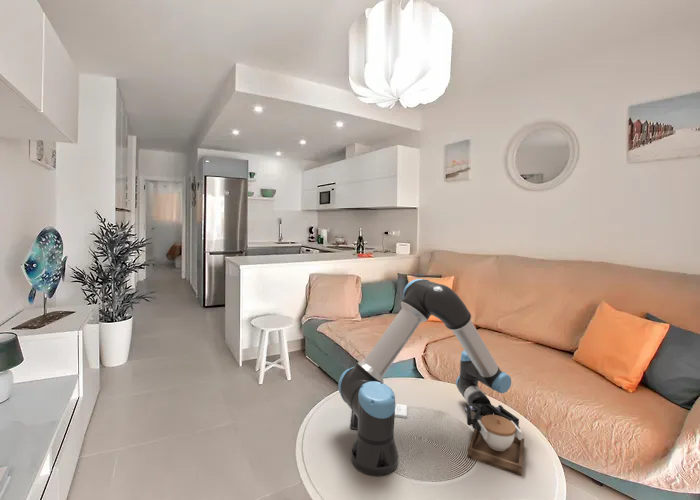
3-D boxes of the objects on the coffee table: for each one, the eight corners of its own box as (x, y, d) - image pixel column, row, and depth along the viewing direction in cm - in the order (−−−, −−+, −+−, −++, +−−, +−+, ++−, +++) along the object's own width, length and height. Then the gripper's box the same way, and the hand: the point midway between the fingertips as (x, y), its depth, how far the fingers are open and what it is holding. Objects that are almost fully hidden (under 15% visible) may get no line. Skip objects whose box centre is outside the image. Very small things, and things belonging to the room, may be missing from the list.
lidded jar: (473, 436, 120) (475, 411, 119) (501, 434, 122) (503, 409, 121) (491, 457, 109) (493, 429, 109) (521, 454, 111) (523, 427, 111)
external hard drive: (376, 405, 144) (406, 408, 142) (375, 415, 136) (407, 419, 134) (376, 401, 144) (406, 404, 142) (375, 412, 136) (407, 415, 134)
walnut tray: (467, 457, 113) (468, 448, 112) (475, 431, 127) (475, 424, 126) (521, 476, 105) (522, 466, 105) (523, 446, 119) (524, 438, 119)
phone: (350, 427, 126) (352, 405, 140) (350, 430, 126) (352, 408, 141) (371, 429, 125) (371, 406, 140) (371, 431, 125) (371, 409, 140)
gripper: (505, 410, 134) (537, 447, 112) (447, 408, 133) (467, 446, 111) (507, 391, 133) (539, 425, 111) (448, 390, 132) (469, 424, 110)
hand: (503, 435), depth 111 cm, fingers closed on lidded jar, 11 cm apart
